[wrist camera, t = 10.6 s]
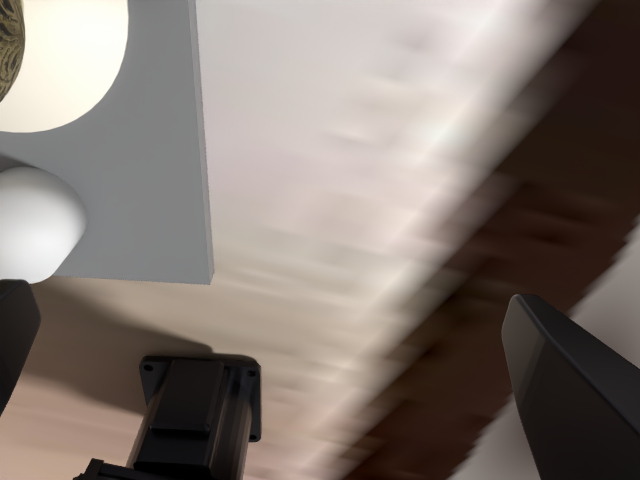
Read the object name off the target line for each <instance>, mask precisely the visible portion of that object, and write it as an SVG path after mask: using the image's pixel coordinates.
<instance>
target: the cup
mask: <svg viewBox="0 0 640 480" xmlns="http://www.w3.org/2000/svg"><path fill="white" fill-rule="evenodd" d="M24 51H25V24H24V2H23V0H0V102H1V101H2V100H3V99H4V97H5V96H6V95H7V94H8V92H9V91H10V89H11V87H12V85H13V84H14V82H15V80H16V78H17V76H18V74H19V71H20V68H21V65H22V60H23V56H24Z"/></svg>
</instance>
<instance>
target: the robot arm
mask: <svg viewBox="0 0 640 480" xmlns="http://www.w3.org/2000/svg"><path fill="white" fill-rule="evenodd" d="M40 322H41V313H40V310H39V307H38V304H37V302H36V299H35V296H34V294H33V291H32V288H31V286H30V284H29V283H28V282H27V281H26V280H23V279H1V280H0V416H1V414H2V413H3V411H4V409H5V407H6V405H7V403H8V401H9V399H10V397H11V395H12V392H13V390H14V388H15V386H16V383H17V381H18V378H19V376H20V373H21V371H22V368H23V366H24V364H25V361H26V359H27V356H28V354H29V351H30V349H31V346H32V344H33V341H34V339H35V336H36V334H37V331H38V329H39V326H40ZM502 341H503V345H504V350H505V355H506V359H507V364H508V369H509V373H510V378H511V383H512V387H513V392H514V396H515V401H516V405H517V409H518V413H519V416H520V419H521V423H522V426H523V429H524V432H525V435H526V438H527V440H528V444H529V447H530V450H531V452H532V455H533V458H534V461H535V464H536V467H537V470H538V473H539V476H540V478H541V480H640V369H639V368H638V367H636V366H635V365H633V364H632V363H631V362H629V361H628V360H626V359H625V358H623V357H622V356H621V355H619V354H618V353H617V352H615V351H614V350H613V349H611V348H610V347H608V346H607V345H606V344H604V343H603V342H601V341H600V340H599V339H597V338H596V337H595V336H593V335H592V334H590V333H589V332H587V331H586V330H585V329H583V328H582V327H581V326H579V325H578V324H576V323H575V322H574V321H572V320H571V319H570V318H568V317H567V316H565V315H564V314H563V313H561V312H560V311H558V310H557V309H556V308H554V307H553V306H551V305H550V304H549V303H547V302H546V301H545V300H543V299H542V298H540V297H539V296H537V295H530V294H516V295H514V296H513V297H512V298H511V300H510V303H509V307H508V310H507V313H506V317H505V320H504V323H503V327H502ZM150 365H151V366H150ZM139 369H140V374H141V379H142V384H143V389H144V394H145V400H146V405H147V410H146V413H145V416H144V418H143V421H142V424H141V426H140V429H139V432H138V434H137V437H136V440H135V442H134V445H133V448H132V450H131V453H130V456H129V458H128V461H127V464H126V466H125V467H122V466H118V465H113V464H108V463H104V460H99V459H95V458H92V459H91V461H90V463H89V465H88V467H87V469H86V471H85V473H84V474H82V473H80V475H79V476H77V477H74V478H73V480H242V479H243V473H244V467H245V460H246V454H247V448H248V442H258V441H259V440H260V439H261V433H262V404H261V366H260V365H259V364H258V363H256V362H250V361H232V360H214V359H196V358H178V357H160V356H145V357H143V359H142V360H141V362H140V365H139ZM250 370H252V371H250Z"/></svg>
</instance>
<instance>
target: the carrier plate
mask: <svg viewBox="0 0 640 480" xmlns="http://www.w3.org/2000/svg"><path fill="white" fill-rule="evenodd" d="M23 2H24V24H25V51H24V56H23V60H22V65H21V68H20V71H19V74H18V76H17V78H16V80H15V82H14V84H13V85H12V87H11V89H10V91H9V92H8V94H7V95H6V96H5V97H4V99H3V100H2V101H1V102H0V280H1V279H23V280H26V281H27V282H28V283H29V284H31V283H36V282H40V281H43V280H45V279H47V278H48V277H50V276H66V277H83V278H100V279H117V280H134V281H152V282H169V283H186V284H203V285H210V283H211V280H212V277H213V274H214V262H213V248H212V233H211V219H210V205H209V190H208V176H207V162H206V147H205V133H204V119H203V105H202V90H201V76H200V62H199V47H198V33H197V19H196V5H195V0H23Z"/></svg>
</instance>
